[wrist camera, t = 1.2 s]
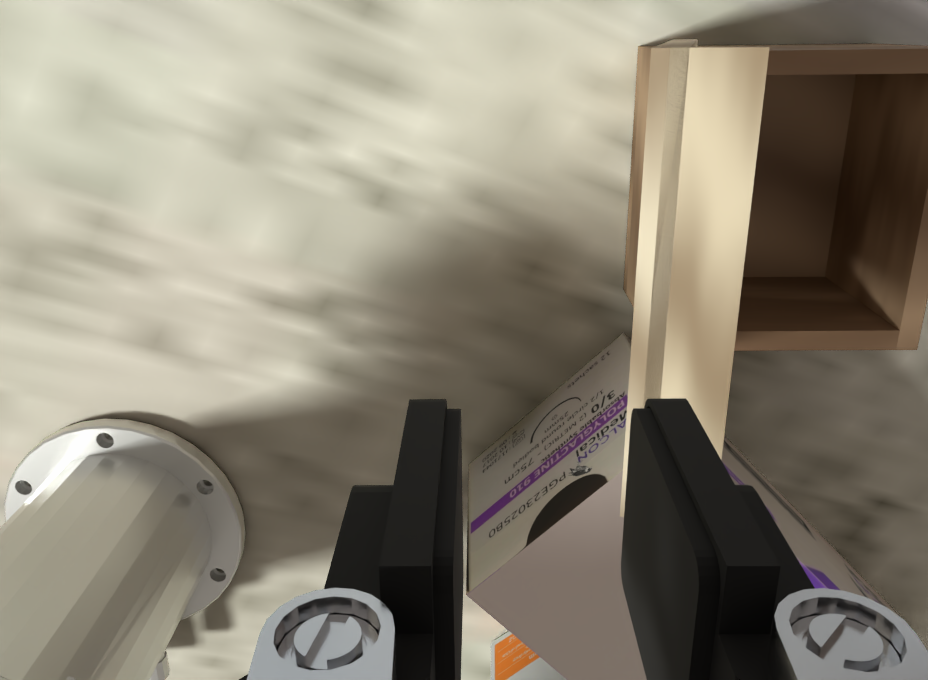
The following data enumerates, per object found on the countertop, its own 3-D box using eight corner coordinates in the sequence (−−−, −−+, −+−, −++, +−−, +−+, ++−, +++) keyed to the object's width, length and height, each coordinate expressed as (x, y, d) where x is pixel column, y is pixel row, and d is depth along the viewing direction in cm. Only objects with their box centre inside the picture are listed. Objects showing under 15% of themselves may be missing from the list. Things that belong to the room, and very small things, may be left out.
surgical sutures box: (908, 624, 46) (1027, 788, 36) (757, 723, 49) (829, 900, 39) (622, 331, 40) (671, 431, 30) (468, 463, 43) (466, 594, 33)
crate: (832, 287, 39) (917, 349, 31) (623, 289, 39) (657, 351, 32) (871, 43, 35) (978, 47, 27) (638, 46, 35) (681, 51, 28)
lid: (713, 530, 21) (619, 516, 22) (712, 369, 31) (648, 363, 31) (769, 46, 17) (651, 47, 17) (748, 38, 27) (673, 39, 27)
